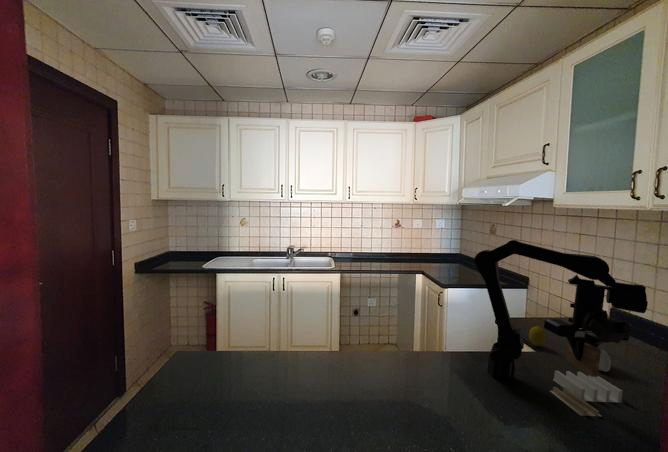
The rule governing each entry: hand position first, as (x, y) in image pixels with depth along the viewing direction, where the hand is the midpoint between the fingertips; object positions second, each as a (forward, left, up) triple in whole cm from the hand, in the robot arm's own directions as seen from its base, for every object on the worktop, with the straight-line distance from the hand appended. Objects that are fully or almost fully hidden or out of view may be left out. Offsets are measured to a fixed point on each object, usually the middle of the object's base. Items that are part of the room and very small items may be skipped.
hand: (581, 360), depth 79 cm
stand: (-2, -1, -12) cm, 12 cm away
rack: (+7, +5, -12) cm, 15 cm away
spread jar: (+25, +23, -12) cm, 37 cm away
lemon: (+15, +35, -12) cm, 40 cm away
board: (0, 0, -2) cm, 2 cm away
